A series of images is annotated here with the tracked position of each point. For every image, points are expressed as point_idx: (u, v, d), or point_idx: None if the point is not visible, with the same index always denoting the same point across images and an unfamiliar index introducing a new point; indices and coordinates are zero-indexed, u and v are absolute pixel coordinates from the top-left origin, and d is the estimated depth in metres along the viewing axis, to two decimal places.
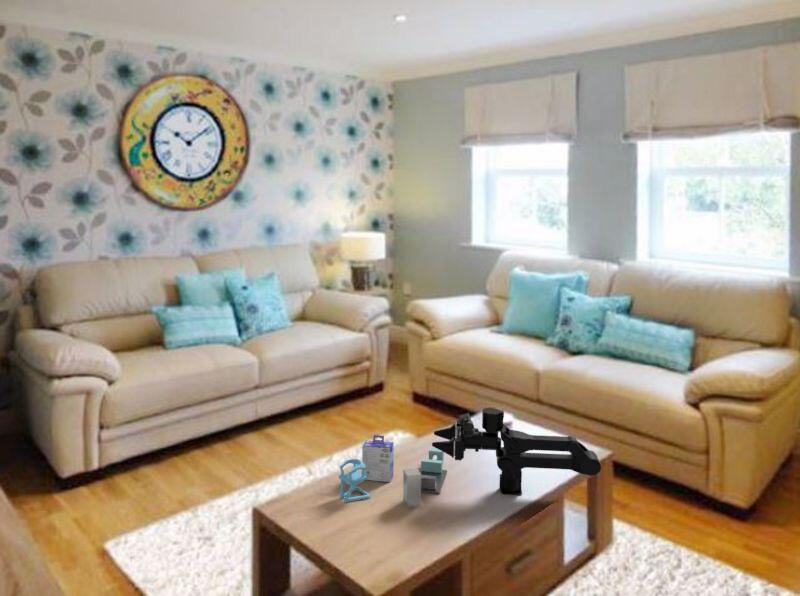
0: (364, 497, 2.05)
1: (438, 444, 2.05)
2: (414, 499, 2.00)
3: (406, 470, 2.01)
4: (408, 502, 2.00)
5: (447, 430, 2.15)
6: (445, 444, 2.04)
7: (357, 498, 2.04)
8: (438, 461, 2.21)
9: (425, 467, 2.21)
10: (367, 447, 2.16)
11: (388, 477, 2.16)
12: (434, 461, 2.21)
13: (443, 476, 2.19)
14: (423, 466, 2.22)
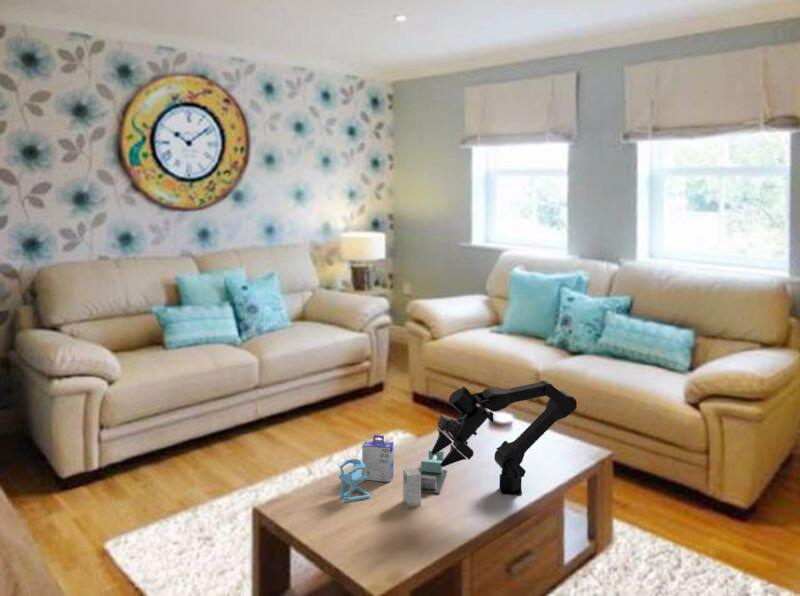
0: (364, 497, 2.05)
1: (445, 461, 1.97)
2: (414, 499, 2.00)
3: (406, 470, 2.01)
4: (408, 502, 2.00)
5: (439, 441, 2.06)
6: (450, 456, 1.96)
7: (357, 498, 2.04)
8: (438, 461, 2.21)
9: (425, 467, 2.21)
10: (367, 447, 2.16)
11: (388, 477, 2.16)
12: (434, 461, 2.21)
13: (443, 476, 2.19)
14: (423, 466, 2.22)
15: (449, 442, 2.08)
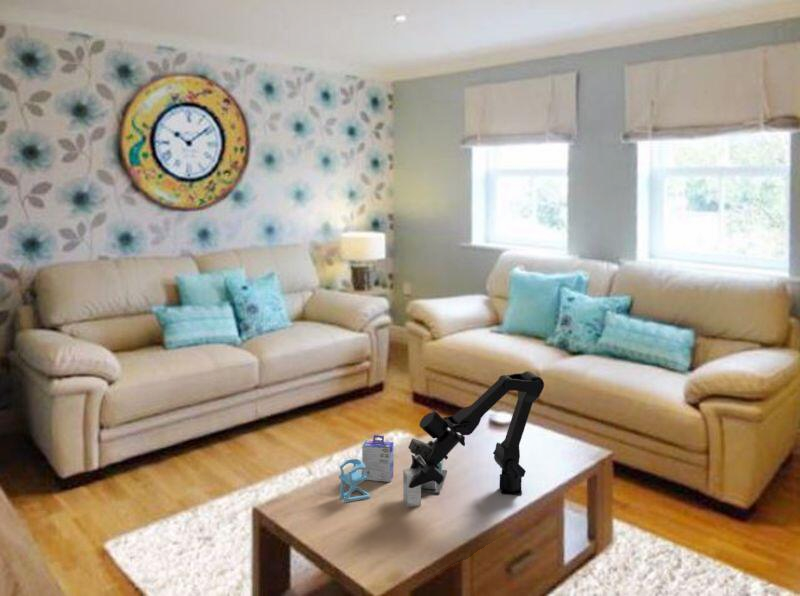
0: (364, 497, 2.05)
1: (414, 482, 1.98)
2: (414, 499, 2.00)
3: (406, 470, 2.01)
4: (408, 502, 2.00)
5: (413, 467, 2.03)
6: (419, 477, 1.97)
7: (357, 498, 2.04)
8: None
9: None
10: (367, 447, 2.16)
11: (388, 477, 2.16)
12: None
13: None
14: None
15: (423, 468, 2.05)
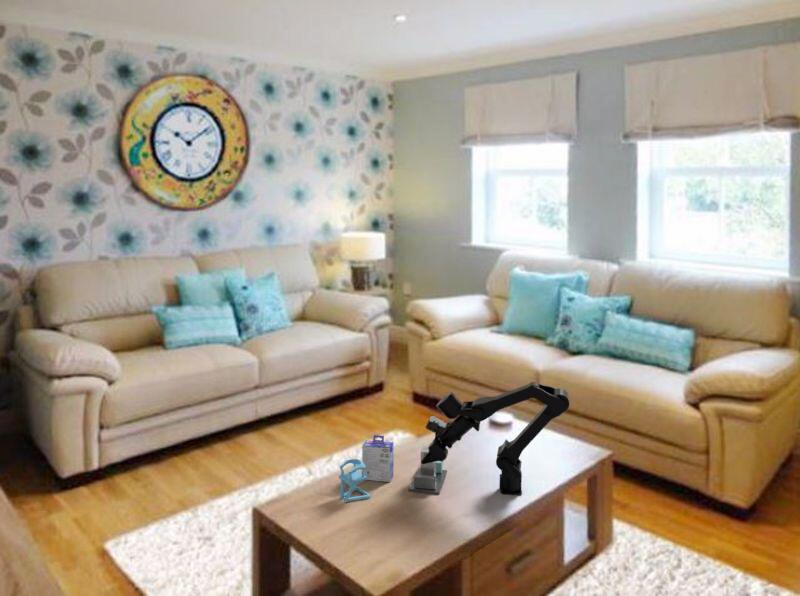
0: (364, 497, 2.05)
1: (425, 459, 2.10)
2: (428, 475, 2.14)
3: (424, 447, 2.16)
4: None
5: (434, 441, 2.19)
6: (428, 455, 2.09)
7: (357, 498, 2.04)
8: (438, 461, 2.21)
9: None
10: (367, 447, 2.16)
11: (388, 477, 2.16)
12: None
13: (443, 476, 2.19)
14: None
15: None
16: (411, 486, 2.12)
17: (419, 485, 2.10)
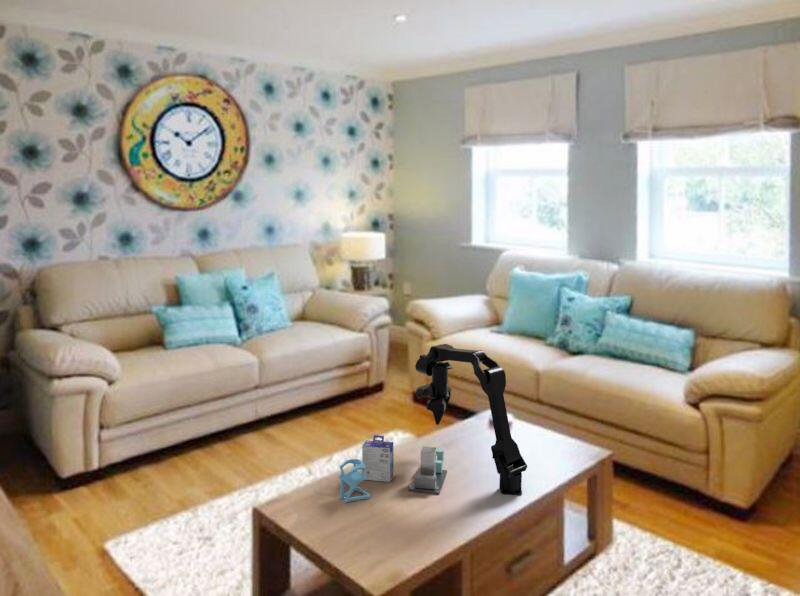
0: (364, 497, 2.05)
1: (436, 419, 2.30)
2: (428, 475, 2.14)
3: (424, 447, 2.16)
4: None
5: None
6: (435, 414, 2.29)
7: (357, 498, 2.04)
8: (438, 461, 2.21)
9: None
10: (367, 447, 2.16)
11: (388, 477, 2.16)
12: None
13: (443, 476, 2.19)
14: None
15: (446, 400, 2.37)
16: (411, 486, 2.12)
17: (419, 485, 2.10)
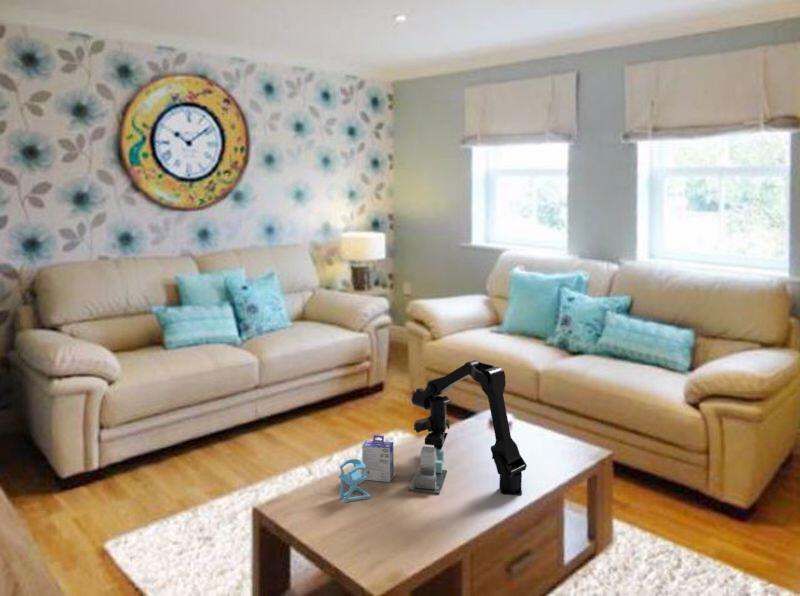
0: (364, 497, 2.05)
1: None
2: (428, 475, 2.14)
3: (424, 447, 2.16)
4: None
5: None
6: (435, 444, 2.31)
7: (357, 498, 2.04)
8: (438, 461, 2.21)
9: None
10: (367, 447, 2.16)
11: (388, 477, 2.16)
12: None
13: (443, 476, 2.19)
14: None
15: (443, 437, 2.32)
16: (411, 486, 2.12)
17: (419, 485, 2.10)
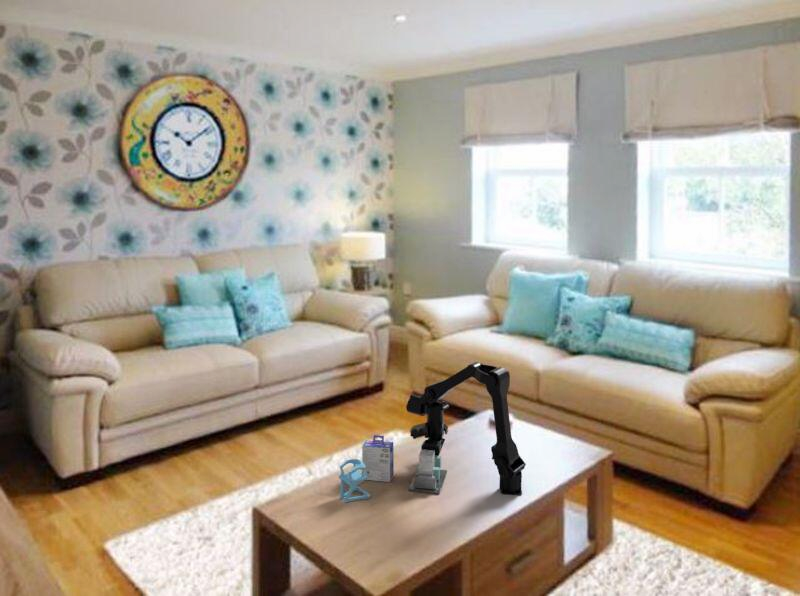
0: (364, 497, 2.05)
1: None
2: None
3: (423, 450, 2.14)
4: None
5: None
6: None
7: (357, 498, 2.04)
8: (436, 468, 2.16)
9: None
10: (367, 447, 2.16)
11: (388, 477, 2.16)
12: None
13: (443, 476, 2.19)
14: None
15: (441, 443, 2.27)
16: (411, 486, 2.12)
17: (419, 485, 2.10)
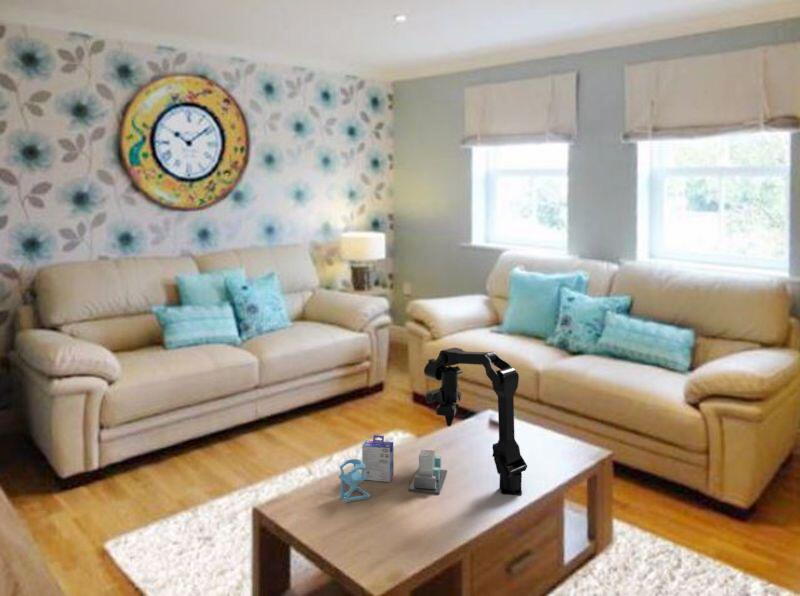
0: (364, 497, 2.05)
1: (447, 421, 2.29)
2: None
3: (423, 450, 2.14)
4: None
5: None
6: (446, 415, 2.28)
7: (357, 498, 2.04)
8: (436, 468, 2.16)
9: None
10: (367, 447, 2.16)
11: (388, 477, 2.16)
12: None
13: (443, 476, 2.19)
14: None
15: None
16: (411, 486, 2.12)
17: (419, 485, 2.10)
